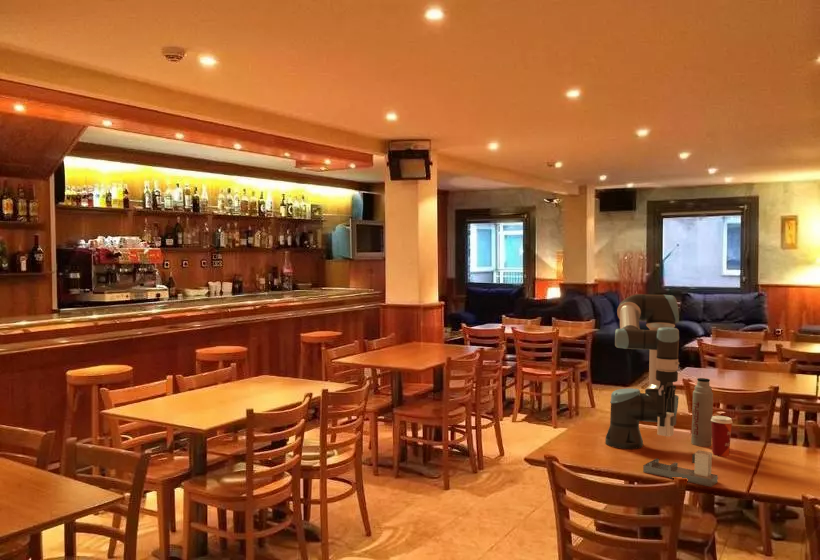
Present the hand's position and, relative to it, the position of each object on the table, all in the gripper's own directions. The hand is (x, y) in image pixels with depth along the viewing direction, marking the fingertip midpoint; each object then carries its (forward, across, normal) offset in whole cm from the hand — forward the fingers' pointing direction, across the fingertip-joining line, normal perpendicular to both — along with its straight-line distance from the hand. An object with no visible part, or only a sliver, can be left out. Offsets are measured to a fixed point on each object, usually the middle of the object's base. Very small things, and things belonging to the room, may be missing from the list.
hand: (665, 433), depth 255 cm
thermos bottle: (+15, +52, +3) cm, 54 cm away
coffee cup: (+15, +41, -8) cm, 44 cm away
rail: (+15, 0, -6) cm, 16 cm away
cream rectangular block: (0, 0, 0) cm, 0 cm away
